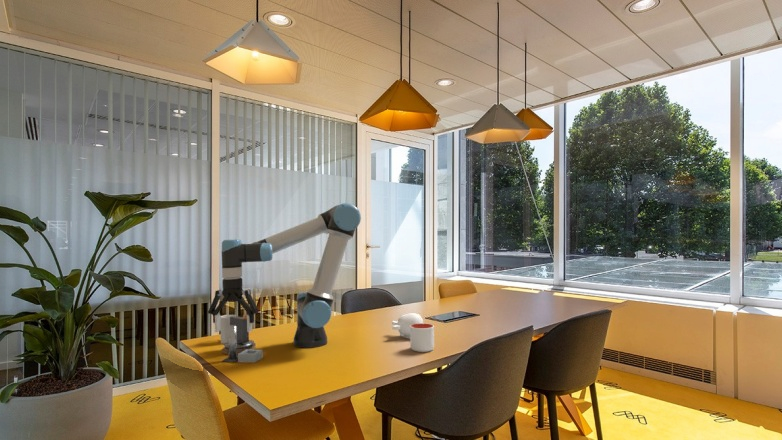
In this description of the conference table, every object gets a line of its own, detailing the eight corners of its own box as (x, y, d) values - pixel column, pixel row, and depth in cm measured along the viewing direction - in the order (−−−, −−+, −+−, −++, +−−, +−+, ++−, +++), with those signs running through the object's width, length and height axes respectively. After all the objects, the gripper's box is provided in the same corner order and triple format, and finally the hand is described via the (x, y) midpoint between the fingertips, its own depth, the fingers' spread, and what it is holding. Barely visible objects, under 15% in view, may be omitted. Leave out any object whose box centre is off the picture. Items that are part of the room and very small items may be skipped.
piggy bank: (424, 338, 209) (393, 341, 209) (421, 313, 213) (391, 316, 213) (425, 336, 198) (393, 339, 197) (423, 310, 201) (390, 313, 201)
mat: (243, 357, 175) (243, 356, 175) (236, 362, 170) (236, 361, 170) (229, 357, 176) (229, 356, 176) (221, 361, 170) (221, 360, 170)
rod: (234, 359, 171) (234, 326, 172) (227, 359, 172) (227, 326, 172) (238, 357, 174) (238, 325, 174) (231, 357, 175) (231, 325, 175)
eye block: (262, 357, 176) (262, 349, 176) (254, 362, 169) (254, 354, 169) (246, 356, 177) (246, 349, 177) (237, 361, 170) (237, 354, 170)
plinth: (255, 347, 191) (255, 342, 191) (244, 354, 181) (244, 348, 181) (234, 347, 192) (234, 342, 192) (222, 353, 182) (222, 348, 182)
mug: (236, 343, 199) (236, 316, 199) (220, 344, 196) (220, 318, 196) (234, 338, 208) (234, 313, 208) (219, 339, 205) (219, 314, 205)
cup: (437, 347, 187) (437, 324, 187) (429, 354, 178) (429, 329, 178) (415, 345, 191) (415, 322, 191) (406, 351, 182) (406, 327, 182)
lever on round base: (243, 340, 195) (243, 310, 195) (259, 344, 187) (259, 313, 188) (218, 346, 185) (218, 314, 186) (235, 350, 178) (234, 317, 178)
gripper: (265, 276, 176) (267, 329, 175) (208, 277, 179) (209, 328, 179) (257, 278, 168) (259, 333, 168) (198, 279, 172) (199, 333, 171)
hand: (233, 331), depth 173 cm, fingers open, 13 cm apart
